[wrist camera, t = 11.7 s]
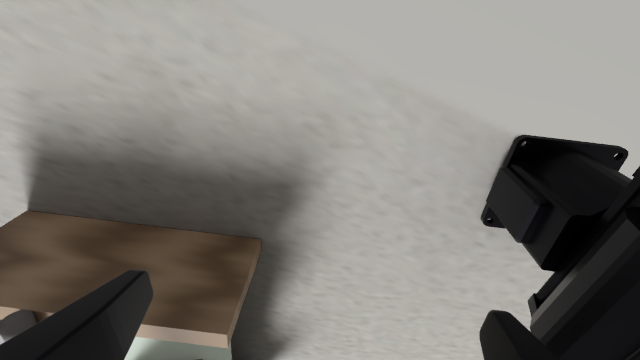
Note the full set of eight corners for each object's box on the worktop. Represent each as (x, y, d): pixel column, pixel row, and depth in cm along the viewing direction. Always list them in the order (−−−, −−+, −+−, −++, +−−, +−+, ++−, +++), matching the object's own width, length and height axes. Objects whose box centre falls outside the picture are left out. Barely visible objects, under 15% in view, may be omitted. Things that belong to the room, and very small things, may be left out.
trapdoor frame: (88, 351, 33) (2, 466, 24) (26, 210, 24) (-139, 315, 16) (259, 373, 33) (231, 496, 24) (261, 239, 24) (217, 360, 16)
